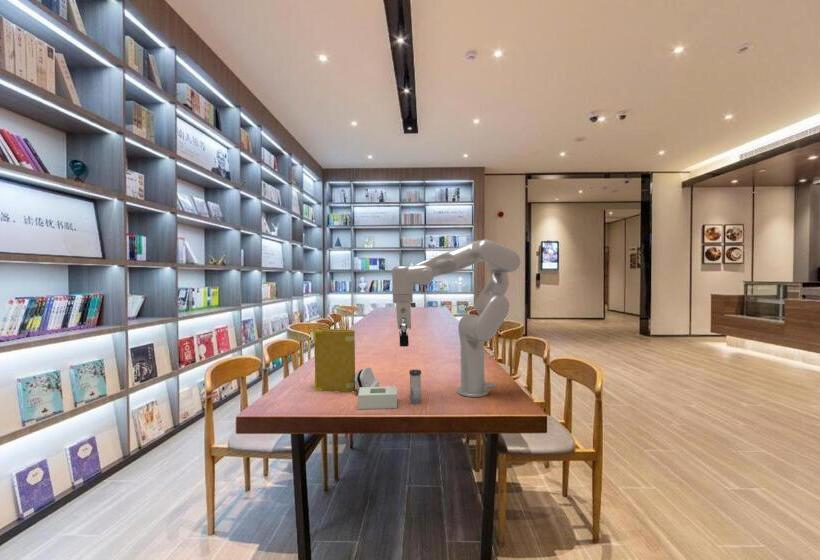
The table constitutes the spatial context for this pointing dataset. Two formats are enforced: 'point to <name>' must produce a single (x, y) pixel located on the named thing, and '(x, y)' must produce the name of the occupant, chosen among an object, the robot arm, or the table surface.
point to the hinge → (365, 379)
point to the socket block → (377, 397)
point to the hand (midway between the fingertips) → (403, 343)
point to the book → (334, 360)
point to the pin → (415, 386)
